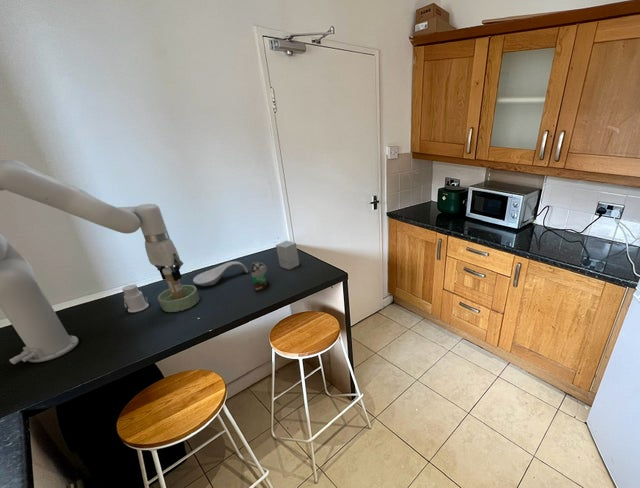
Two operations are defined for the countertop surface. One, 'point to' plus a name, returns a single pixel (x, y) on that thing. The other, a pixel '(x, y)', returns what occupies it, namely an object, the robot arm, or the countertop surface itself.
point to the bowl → (182, 303)
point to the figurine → (259, 275)
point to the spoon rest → (215, 274)
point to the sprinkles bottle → (173, 284)
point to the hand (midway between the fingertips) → (172, 278)
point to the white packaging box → (287, 254)
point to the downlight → (134, 299)
